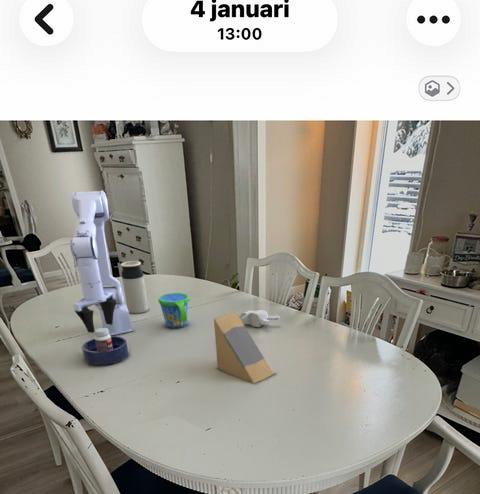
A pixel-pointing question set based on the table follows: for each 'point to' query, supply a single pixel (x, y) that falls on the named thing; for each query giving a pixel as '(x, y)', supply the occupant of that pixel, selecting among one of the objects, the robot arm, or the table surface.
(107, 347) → the pill bottle
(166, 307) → the snack cup
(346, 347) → the table surface
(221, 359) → the sandwich container
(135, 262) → the travel mug
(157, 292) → the table surface
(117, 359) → the bowl
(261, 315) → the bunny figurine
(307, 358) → the table surface
